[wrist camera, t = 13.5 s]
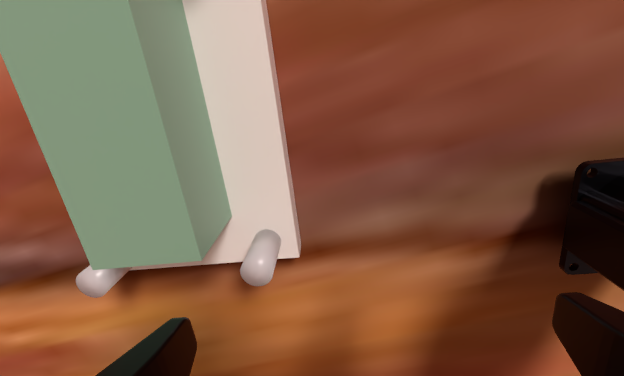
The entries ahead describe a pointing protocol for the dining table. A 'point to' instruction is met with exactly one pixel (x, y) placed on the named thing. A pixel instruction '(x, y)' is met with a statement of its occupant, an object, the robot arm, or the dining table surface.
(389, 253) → the dining table surface
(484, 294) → the dining table surface
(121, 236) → the green board
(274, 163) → the plate
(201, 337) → the dining table surface
